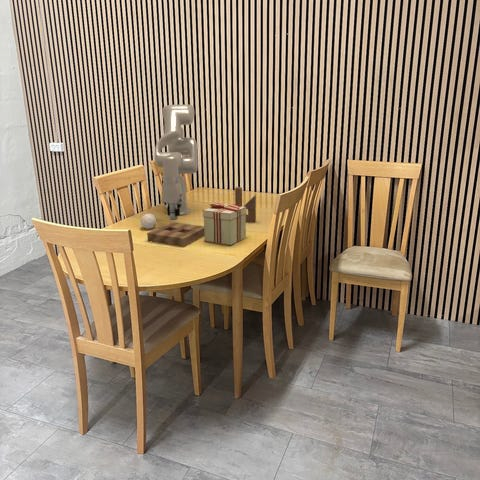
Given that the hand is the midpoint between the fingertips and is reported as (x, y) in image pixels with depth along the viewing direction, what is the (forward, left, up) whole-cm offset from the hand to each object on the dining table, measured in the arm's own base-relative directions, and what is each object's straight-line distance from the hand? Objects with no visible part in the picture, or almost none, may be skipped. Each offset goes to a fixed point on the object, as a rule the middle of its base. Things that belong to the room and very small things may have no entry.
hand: (173, 214), depth 249 cm
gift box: (+35, -8, -6) cm, 36 cm away
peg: (0, 0, -2) cm, 2 cm away
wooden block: (+31, +21, -6) cm, 38 cm away
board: (+14, -17, -5) cm, 23 cm away
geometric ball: (-8, -10, -6) cm, 14 cm away
